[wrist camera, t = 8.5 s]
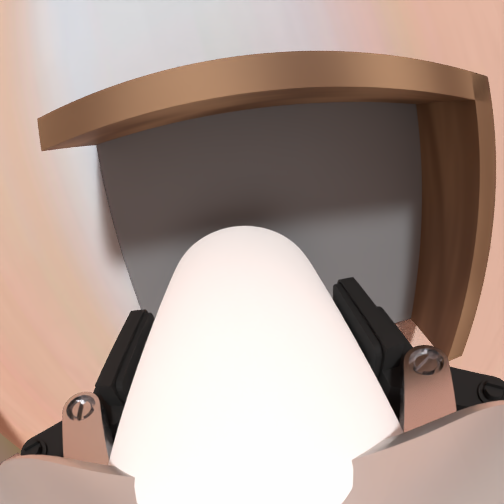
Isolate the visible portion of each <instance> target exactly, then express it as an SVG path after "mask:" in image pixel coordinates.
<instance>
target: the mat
mask: <svg viewBox="0 0 504 504" xmlns="http://www.w3.org/2000/svg"><path fill="white" fill-rule="evenodd" d="M97 151H98V157H99V162H100V167H101V172H102V177H103V181H104V186H105V190H106V195H107V199H108V203H109V207H110V211H111V215H112V219H113V223H114V226H115V230H116V234H117V237H118V241H119V244H120V248H121V251H122V254H123V257H124V261H125V264H126V267H127V270H128V273H129V276H130V279H131V282H132V285H133V288H134V291H135V294H136V297H137V299H138V302H139V305H140V308H141V310H144V309H146V310H147V311H148V313H152V314H153V316H154V319H155V318H156V315H157V312H158V310H159V307H160V305H161V302H162V300H163V297H164V295H165V293H166V290H167V288H168V285H169V283H170V281H171V278H172V276H173V274H174V271H175V269H176V267H177V265H178V263H179V262H180V260H181V258H182V257H183V256H184V254H185V253H186V252H187V251H188V249H189V248H190V247H191V246H193V245H194V244H195V243H196V242H197V241H199V240H200V239H202V238H203V237H205V236H207V235H209V234H211V233H213V232H215V231H218V230H221V229H225V228H229V227H235V226H255V227H261V228H265V229H269V230H272V231H274V232H277V233H279V234H281V235H283V236H285V237H286V238H288V239H289V240H291V241H292V242H293V243H294V244H296V245H297V246H298V247H299V248H300V249H301V251H302V252H303V253H304V254H305V256H306V257H307V258H308V260H309V261H310V263H311V264H312V266H313V268H314V269H315V271H316V272H317V274H318V276H319V277H320V279H321V281H322V282H323V284H324V286H325V287H326V289H327V291H328V292H329V294H330V296H331V297H332V299H333V285H334V284H337V282H338V280H339V279H344V278H350V277H354V278H355V280H356V281H357V282H358V283H359V285H360V286H361V287H362V288H363V290H364V291H365V292H366V293H367V295H368V296H369V297H370V298H371V300H372V301H373V302H374V304H375V305H376V306H377V307H378V306H380V307H382V308H383V309H384V310H385V312H386V313H387V314H388V316H389V317H390V318H391V319H392V321H393V322H394V323H397V322H401V321H404V320H408V319H411V315H412V309H413V303H414V296H415V289H416V281H417V273H418V263H419V252H420V238H421V217H422V170H421V150H420V136H419V126H418V116H417V108H416V104H405V103H387V102H327V103H307V104H293V105H282V106H272V107H263V108H255V109H247V110H240V111H234V112H227V113H221V114H215V115H210V116H204V117H199V118H194V119H189V120H185V121H180V122H176V123H171V124H167V125H163V126H159V127H155V128H151V129H147V130H144V131H140V132H136V133H133V134H129V135H126V136H123V137H119V138H116V139H113V140H110V141H107V142H104V143H100V144H98V145H97Z"/></svg>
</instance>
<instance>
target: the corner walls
mask: <svg viewBox="0 0 504 504" xmlns="http://www.w3.org/2000/svg"><path fill="white" fill-rule="evenodd" d="M327 102H387V103H405V104H416V108H417V116H418V126H419V136H420V150H421V170H422V217H421V238H420V252H419V263H418V273H417V281H416V289H415V296H414V303H413V309H412V315H411V319H412V320H413V322H414V323H415V324H416V325H417V326H418V328H419V329H420V330H421V331H422V332H423V334H424V335H425V336H426V337H427V338H428V340H429V341H430V342H431V343H432V345H433V346H434V347H436V348H438V349H440V350H442V351H443V352H444V353H445V354H446V356H447V358H448V361H450V360H453V359H455V358H457V357H459V356H462V354H463V351H464V348H465V345H466V342H467V339H468V336H469V333H470V330H471V327H472V324H473V320H474V317H475V314H476V310H477V306H478V302H479V299H480V295H481V290H482V286H483V282H484V277H485V272H486V267H487V262H488V256H489V250H490V243H491V236H492V228H493V218H494V206H495V189H496V147H495V130H494V118H493V109H492V101H491V94H490V88H489V82H488V77H487V76H484V75H481V74H477V73H474V72H471V71H467V70H463V69H460V68H456V67H452V66H448V65H443V64H439V63H434V62H429V61H424V60H418V59H413V58H406V57H399V56H392V55H384V54H374V53H362V52H345V51H293V52H275V53H263V54H253V55H244V56H236V57H229V58H223V59H216V60H211V61H205V62H200V63H195V64H190V65H185V66H181V67H177V68H172V69H168V70H164V71H160V72H157V73H153V74H149V75H146V76H143V77H139V78H136V79H133V80H130V81H126V82H123V83H120V84H118V85H115V86H112V87H109V88H106V89H104V90H101V91H98V92H96V93H93V94H91V95H88V96H86V97H83V98H81V99H78V100H76V101H74V102H71V103H69V104H67V105H65V106H63V107H60V108H58V109H56V110H54V111H52V112H50V113H48V114H46V115H44V116H42V117H40V118H38V119H37V120H38V129H39V136H40V143H41V150H42V151H46V150H54V149H61V148H70V147H79V146H89V145H98V144H100V143H104V142H107V141H110V140H113V139H116V138H119V137H123V136H126V135H129V134H133V133H136V132H140V131H144V130H147V129H151V128H155V127H159V126H163V125H167V124H171V123H176V122H180V121H185V120H189V119H194V118H199V117H204V116H210V115H215V114H221V113H227V112H234V111H240V110H247V109H255V108H263V107H272V106H282V105H293V104H307V103H327Z"/></svg>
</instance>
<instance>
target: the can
mask: <svg viewBox="0 0 504 504" xmlns="http://www.w3.org/2000/svg"><path fill="white" fill-rule="evenodd" d="M402 433H404V432H403V430H402V428H401V426H400V424H399V421H398V419H397V417H396V415H395V413H394V411H393V409H392V407H391V405H390V403H389V401H388V399H387V397H386V396H385V394H384V392H383V390H382V388H381V386H380V384H379V382H378V380H377V378H376V376H375V374H374V372H373V371H372V369H371V367H370V365H369V363H368V361H367V359H366V358H365V356H364V354H363V352H362V350H361V348H360V347H359V345H358V343H357V341H356V339H355V338H354V336H353V334H352V332H351V330H350V329H349V327H348V325H347V323H346V322H345V320H344V318H343V316H342V315H341V313H340V311H339V309H338V308H337V306H336V304H335V303H334V301H333V299H332V297H331V296H330V294H329V292H328V291H327V289H326V287H325V286H324V284H323V282H322V281H321V279H320V277H319V276H318V274H317V272H316V271H315V269H314V268H313V266H312V264H311V263H310V261H309V260H308V258H307V257H306V256H305V254H304V253H303V252H302V251H301V249H300V248H299V247H298V246H297V245H296V244H294V243H293V242H292V241H291V240H289V239H288V238H286V237H285V236H283V235H281V234H279V233H277V232H274V231H272V230H269V229H265V228H261V227H255V226H235V227H229V228H225V229H221V230H218V231H215V232H213V233H211V234H209V235H207V236H205V237H203V238H202V239H200V240H199V241H197V242H196V243H195V244H194V245H193V246H191V247H190V248H189V249H188V251H187V252H186V253H185V254H184V256H183V257H182V258H181V260H180V262H179V263H178V265H177V267H176V269H175V271H174V274H173V276H172V278H171V281H170V283H169V285H168V288H167V290H166V293H165V295H164V297H163V300H162V302H161V305H160V307H159V310H158V312H157V315H156V318H155V320H154V323H153V325H152V328H151V331H150V333H149V336H148V339H147V341H146V344H145V347H144V350H143V353H142V355H141V358H140V361H139V364H138V367H137V370H136V373H135V375H134V378H133V381H132V384H131V387H130V391H129V394H128V397H127V400H126V403H125V406H124V410H123V413H122V416H121V419H120V423H119V426H118V430H117V433H116V437H115V440H114V444H113V448H112V451H111V455H110V459H109V463H108V465H110V466H116V467H117V468H119V469H120V470H122V471H124V472H125V473H127V474H129V475H131V476H133V477H135V484H134V488H135V494H136V501H137V503H138V504H341V503H342V502H343V501H344V500H345V499H346V497H347V496H348V494H349V493H350V491H351V489H352V488H353V465H352V459H354V458H356V457H358V456H359V455H361V454H362V453H364V452H366V451H367V450H369V449H370V448H372V447H373V446H375V445H376V444H378V443H379V442H381V441H382V440H385V439H387V438H390V437H393V436H396V435H399V434H402Z"/></svg>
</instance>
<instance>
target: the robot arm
mask: <svg viewBox="0 0 504 504" xmlns="http://www.w3.org/2000/svg"><path fill="white" fill-rule="evenodd" d="M333 301H334V303H335V304H336V306H337V308H338V309H339V311H340V313H341V315H342V316H343V318H344V320H345V322H346V323H347V325H348V327H349V329H350V330H351V332H352V334H353V336H354V338H355V339H356V341H357V343H358V345H359V347H360V348H361V350H362V352H363V354H364V356H365V358H366V359H367V361H368V363H369V365H370V367H371V369H372V371H373V372H374V374H375V376H376V378H377V380H378V382H379V384H380V386H381V388H382V390H383V392H384V394H385V396H386V397H387V399H388V401H389V403H390V405H391V407H392V409H393V411H394V413H395V415H396V417H397V419H398V421H399V424H400V426H401V428H402V430H403V432H404V433H402V434H399V435H396V436H393V437H390V438H387V439H385V440H382V441H381V442H379V443H378V444H376V445H375V446H373V447H372V448H370V449H369V450H367V451H366V452H364V453H362V454H361V455H359V456H358V457H356V458H354V459H352V465H353V488H352V489H351V491H350V493H349V494H348V496H347V497H346V499H345V500H344V501H343V502H342V503H341V504H504V381H503V380H501V379H500V378H497V377H494V376H489V375H484V374H479V373H475V372H470V371H466V370H462V369H457V368H453V367H450V366H449V361H448V358H447V356H446V354H445V353H444V352H443V351H442V350H440V349H438V348H436V347H433V346H429V345H421V346H416V347H414V348H413V347H412V346H411V344H410V343H409V342H408V340H407V339H406V338H405V336H404V335H403V334H402V332H401V331H400V330H399V328H398V327H397V326H396V325H395V323H394V322H393V321H392V319H391V318H390V317H389V316H388V314H387V313H386V312H385V310H384V309H383V308H382V307H380V306H378V307H377V306H376V305H375V304H374V302H373V301H372V300H371V298H370V297H369V296H368V295H367V293H366V292H365V291H364V290H363V288H362V287H361V286H360V285H359V283H358V282H357V281H356V280H355V278H354V277H350V278H344V279H339V280H338V282H337V284H334V285H333ZM154 320H155V319H154V316H153V314H152V313H148V311H147V310H146V309H144V310H135V311H131V312H130V314H129V316H128V318H127V320H126V322H125V324H124V326H123V328H122V330H121V332H120V334H119V336H118V338H117V340H116V342H115V344H114V346H113V348H112V350H111V352H110V354H109V356H108V358H107V360H106V363H105V365H104V367H103V369H102V371H101V373H100V376H99V378H98V380H97V382H96V384H95V387H96V388H95V390H94V392H93V393H91V392H81V393H78V394H75V395H74V396H72V397H71V398H69V400H68V401H67V402H66V403H65V405H64V407H63V412H62V421H61V422H59V423H57V424H55V425H54V426H52V427H50V428H48V429H47V430H45V431H43V432H41V433H40V434H38V435H36V436H34V437H32V438H31V439H29V440H28V441H27V442H26V443H25V444H24V445H23V448H22V450H21V455H20V454H19V453H17V454H15V455H13V456H11V457H10V458H8V459H6V460H4V461H3V462H1V463H0V504H138V503H137V501H136V494H135V488H134V484H135V477H133V476H131V475H129V474H127V473H125V472H124V471H122V470H120V469H119V468H117V467H116V466H110V465H108V463H109V459H110V455H111V451H112V448H113V444H114V440H115V437H116V433H117V430H118V426H119V423H120V419H121V416H122V413H123V410H124V406H125V403H126V400H127V397H128V394H129V391H130V387H131V384H132V381H133V378H134V375H135V373H136V370H137V367H138V364H139V361H140V358H141V355H142V353H143V350H144V347H145V344H146V341H147V339H148V336H149V333H150V331H151V328H152V325H153V323H154Z"/></svg>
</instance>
